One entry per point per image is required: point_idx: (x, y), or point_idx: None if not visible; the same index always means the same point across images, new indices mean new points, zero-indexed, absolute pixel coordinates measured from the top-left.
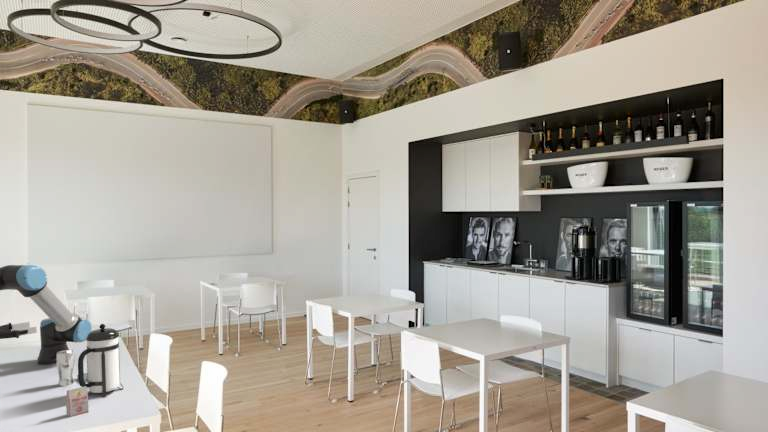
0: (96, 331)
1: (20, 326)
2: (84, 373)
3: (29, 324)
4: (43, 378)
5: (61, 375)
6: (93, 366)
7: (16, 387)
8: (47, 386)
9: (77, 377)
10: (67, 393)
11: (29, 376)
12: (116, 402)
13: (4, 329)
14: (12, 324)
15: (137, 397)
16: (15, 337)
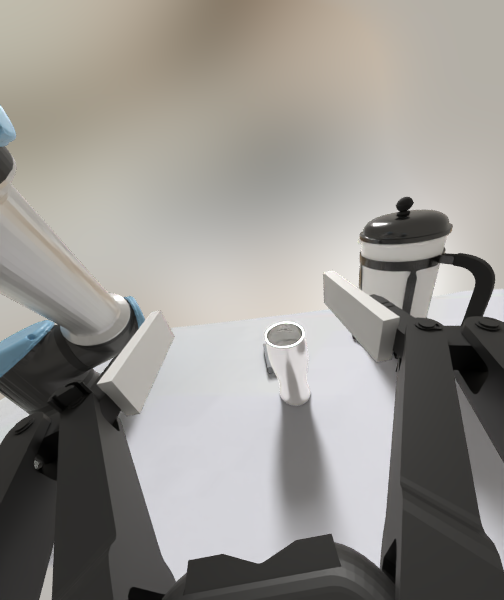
0: (421, 213)
1: (150, 355)
2: (266, 357)
3: (166, 322)
4: (204, 438)
5: (304, 382)
6: (431, 293)
7: (231, 533)
8: (286, 430)
9: (268, 370)
10: None
11: (148, 476)
12: (462, 321)
13: (121, 471)
14: (105, 379)
15: (432, 304)
16: (486, 372)
